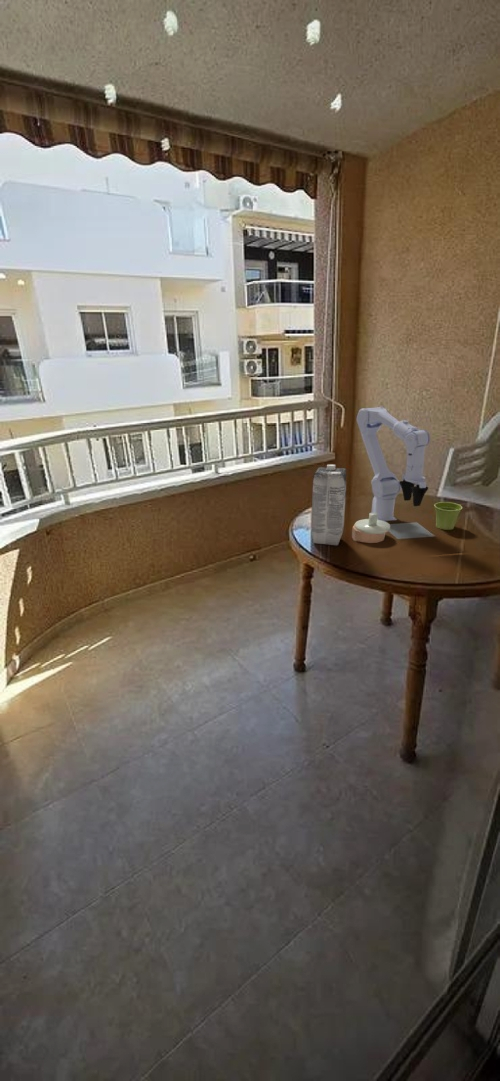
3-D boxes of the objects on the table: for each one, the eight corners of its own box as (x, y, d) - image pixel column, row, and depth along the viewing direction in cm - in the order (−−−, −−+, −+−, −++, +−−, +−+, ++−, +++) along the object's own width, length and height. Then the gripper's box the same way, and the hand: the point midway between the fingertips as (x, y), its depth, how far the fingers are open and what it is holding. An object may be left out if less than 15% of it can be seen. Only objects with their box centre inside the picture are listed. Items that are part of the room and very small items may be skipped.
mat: (381, 526, 166) (381, 524, 166) (416, 523, 167) (416, 522, 167) (396, 540, 153) (397, 538, 153) (434, 537, 154) (435, 536, 154)
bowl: (348, 533, 161) (348, 523, 159) (377, 531, 162) (378, 521, 160) (358, 545, 151) (359, 534, 149) (389, 542, 152) (390, 532, 150)
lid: (351, 522, 160) (351, 509, 158) (383, 520, 160) (384, 507, 158) (360, 534, 149) (361, 521, 147) (394, 533, 149) (396, 519, 147)
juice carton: (340, 547, 149) (344, 470, 139) (310, 544, 152) (312, 468, 142) (343, 537, 157) (348, 463, 146) (314, 534, 160) (317, 462, 149)
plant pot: (461, 533, 157) (465, 510, 154) (433, 532, 159) (436, 509, 156) (455, 524, 166) (459, 502, 162) (429, 523, 168) (432, 501, 164)
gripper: (436, 468, 147) (432, 507, 152) (416, 461, 160) (413, 497, 165) (416, 470, 146) (412, 509, 151) (397, 462, 160) (395, 498, 164)
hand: (411, 503), depth 158 cm, fingers open, 7 cm apart
